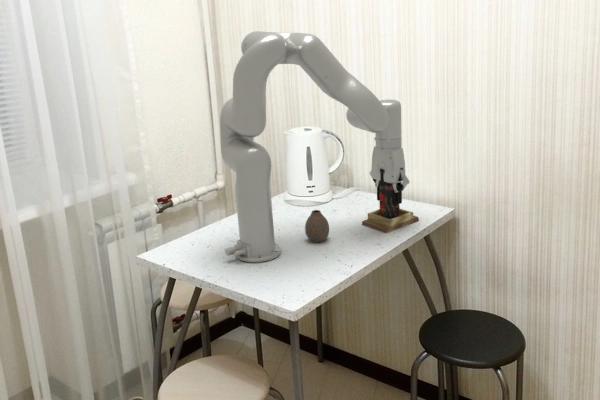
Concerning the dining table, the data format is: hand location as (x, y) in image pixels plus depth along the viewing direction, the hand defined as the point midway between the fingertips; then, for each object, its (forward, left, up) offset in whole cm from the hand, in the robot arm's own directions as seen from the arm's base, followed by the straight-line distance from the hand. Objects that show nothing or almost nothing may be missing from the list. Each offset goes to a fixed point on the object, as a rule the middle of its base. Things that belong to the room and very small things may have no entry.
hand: (389, 201), depth 197 cm
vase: (-24, +5, -7) cm, 25 cm away
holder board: (0, 0, -7) cm, 7 cm away
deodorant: (0, 0, -5) cm, 5 cm away
